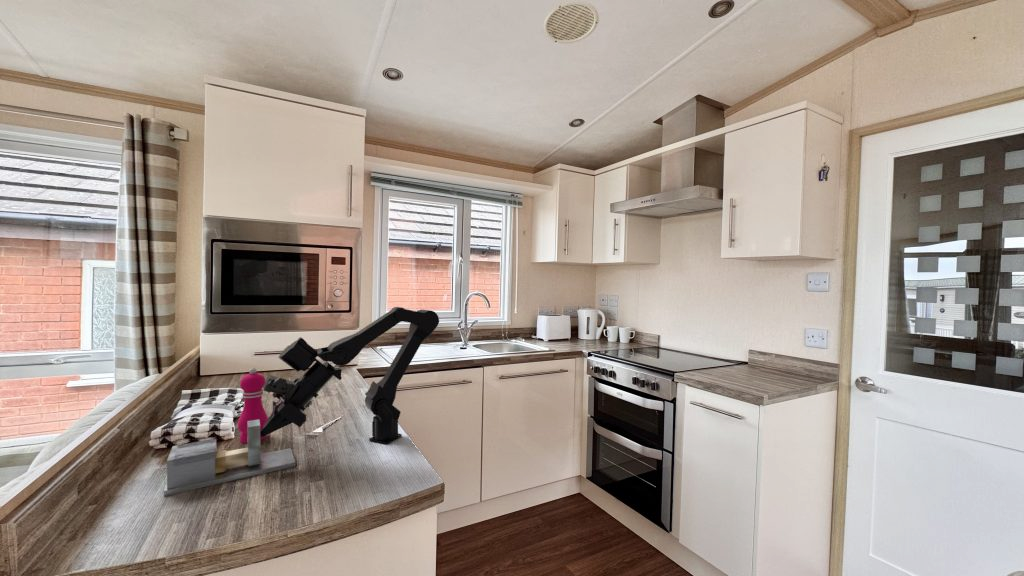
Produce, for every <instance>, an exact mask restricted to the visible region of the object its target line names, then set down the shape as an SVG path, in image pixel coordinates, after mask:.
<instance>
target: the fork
mask: <svg viewBox="0 0 1024 576" xmlns="http://www.w3.org/2000/svg"><path fill="white" fill-rule="evenodd" d="M340 418H341V416H339V417H337V418H336V419H334V420H331V421H329V422H327V423H325V424H324V425H321V426H320V427H317V428H316V429H315V430H313V431H312V432H322V433H323V432H324V429H327V428H328V427H329V425H330V426H331V424H332V423H333V424H335V423H336V422H337V421H336V420H338V419H339V420H341V419H342V418H341V419H340ZM339 420H338V421H339ZM335 421H336V422H335ZM334 422H335V423H334ZM333 424H332V425H333ZM312 432H303V434H304V435H307V436H319V435H320V434H312Z"/></svg>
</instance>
